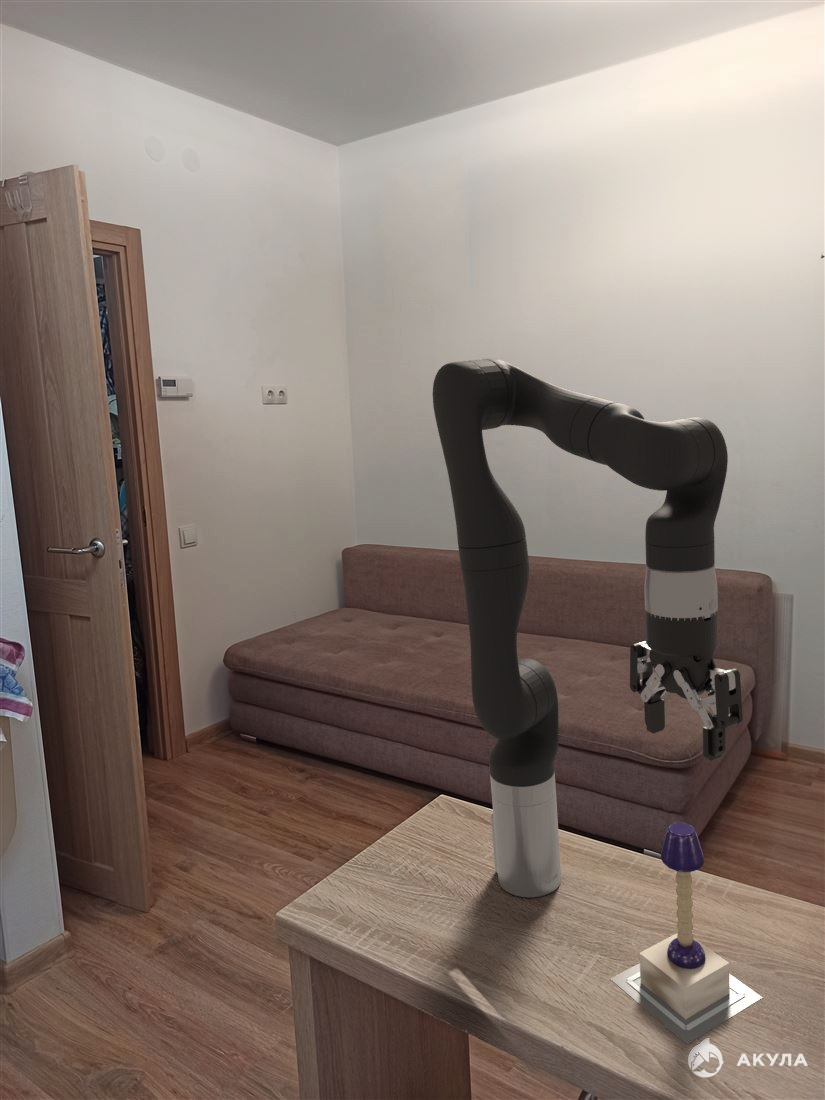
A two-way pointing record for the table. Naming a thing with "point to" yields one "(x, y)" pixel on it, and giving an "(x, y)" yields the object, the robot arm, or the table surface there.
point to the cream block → (684, 979)
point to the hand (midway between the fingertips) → (683, 743)
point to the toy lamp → (683, 891)
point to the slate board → (698, 1022)
